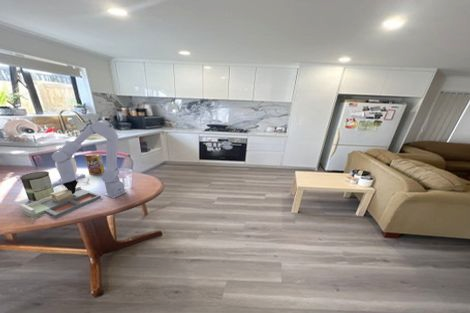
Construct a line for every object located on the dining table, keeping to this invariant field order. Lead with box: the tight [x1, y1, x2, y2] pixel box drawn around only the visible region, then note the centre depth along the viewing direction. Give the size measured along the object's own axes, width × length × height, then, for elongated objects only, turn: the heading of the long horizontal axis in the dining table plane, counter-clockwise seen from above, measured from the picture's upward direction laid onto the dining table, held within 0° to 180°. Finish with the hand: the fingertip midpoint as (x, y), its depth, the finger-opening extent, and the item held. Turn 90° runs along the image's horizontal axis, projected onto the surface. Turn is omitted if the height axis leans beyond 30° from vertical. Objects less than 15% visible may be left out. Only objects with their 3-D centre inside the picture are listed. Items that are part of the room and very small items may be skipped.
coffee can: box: [19, 170, 55, 203], centre depth 94 cm, size 10×10×14 cm
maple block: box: [51, 188, 73, 203], centre depth 92 cm, size 6×6×4 cm
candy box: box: [84, 153, 105, 175], centre depth 127 cm, size 9×4×15 cm, turn 98°
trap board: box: [19, 185, 102, 220], centre depth 90 cm, size 20×24×4 cm
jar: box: [54, 154, 78, 176], centre depth 121 cm, size 11×10×15 cm
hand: (72, 193), depth 96 cm, fingers closed
